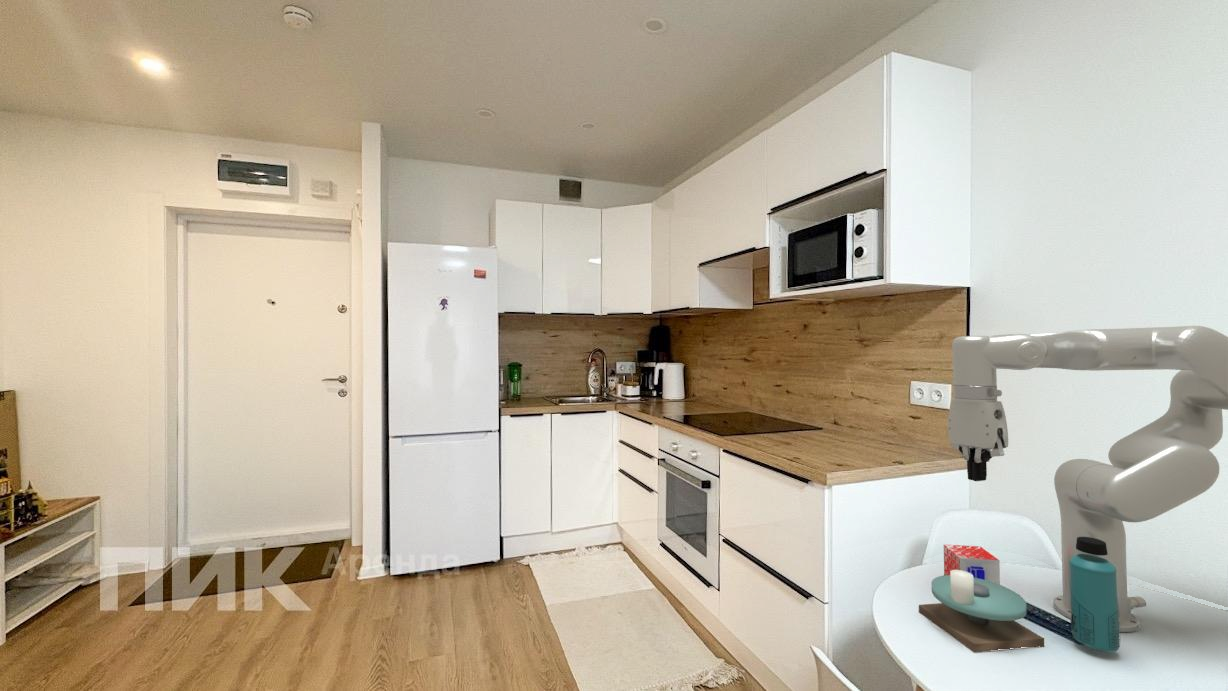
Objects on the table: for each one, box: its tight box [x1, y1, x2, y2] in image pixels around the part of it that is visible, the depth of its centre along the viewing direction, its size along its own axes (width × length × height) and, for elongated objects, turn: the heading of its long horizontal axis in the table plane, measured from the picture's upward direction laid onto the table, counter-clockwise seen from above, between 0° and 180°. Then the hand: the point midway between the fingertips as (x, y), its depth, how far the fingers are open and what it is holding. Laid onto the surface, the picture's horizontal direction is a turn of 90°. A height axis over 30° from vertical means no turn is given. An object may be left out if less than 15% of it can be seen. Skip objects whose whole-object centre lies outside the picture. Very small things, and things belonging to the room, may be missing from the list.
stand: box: [918, 602, 1045, 653], centre depth 97 cm, size 14×14×5 cm
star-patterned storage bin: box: [943, 543, 1001, 585], centre depth 114 cm, size 8×8×8 cm
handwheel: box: [931, 570, 1028, 621], centre depth 97 cm, size 15×15×6 cm
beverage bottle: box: [1069, 537, 1121, 653], centre depth 90 cm, size 6×7×20 cm
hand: (977, 479), depth 105 cm, fingers closed
